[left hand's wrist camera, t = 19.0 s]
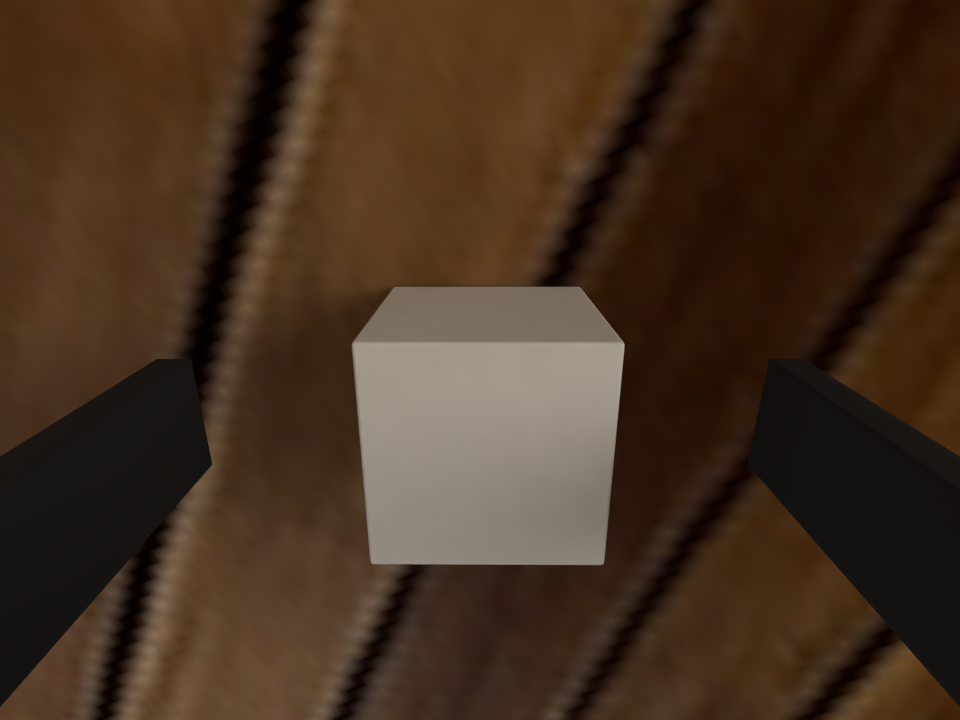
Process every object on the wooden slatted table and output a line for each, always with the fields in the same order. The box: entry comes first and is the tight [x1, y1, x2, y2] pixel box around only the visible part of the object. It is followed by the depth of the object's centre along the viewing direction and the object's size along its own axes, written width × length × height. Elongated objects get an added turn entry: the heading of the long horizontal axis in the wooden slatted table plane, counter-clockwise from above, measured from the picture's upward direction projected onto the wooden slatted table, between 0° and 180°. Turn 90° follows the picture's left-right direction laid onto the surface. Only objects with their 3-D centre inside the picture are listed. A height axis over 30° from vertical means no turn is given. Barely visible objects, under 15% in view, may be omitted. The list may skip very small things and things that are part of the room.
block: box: [352, 287, 625, 565], centre depth 13 cm, size 5×5×5 cm
